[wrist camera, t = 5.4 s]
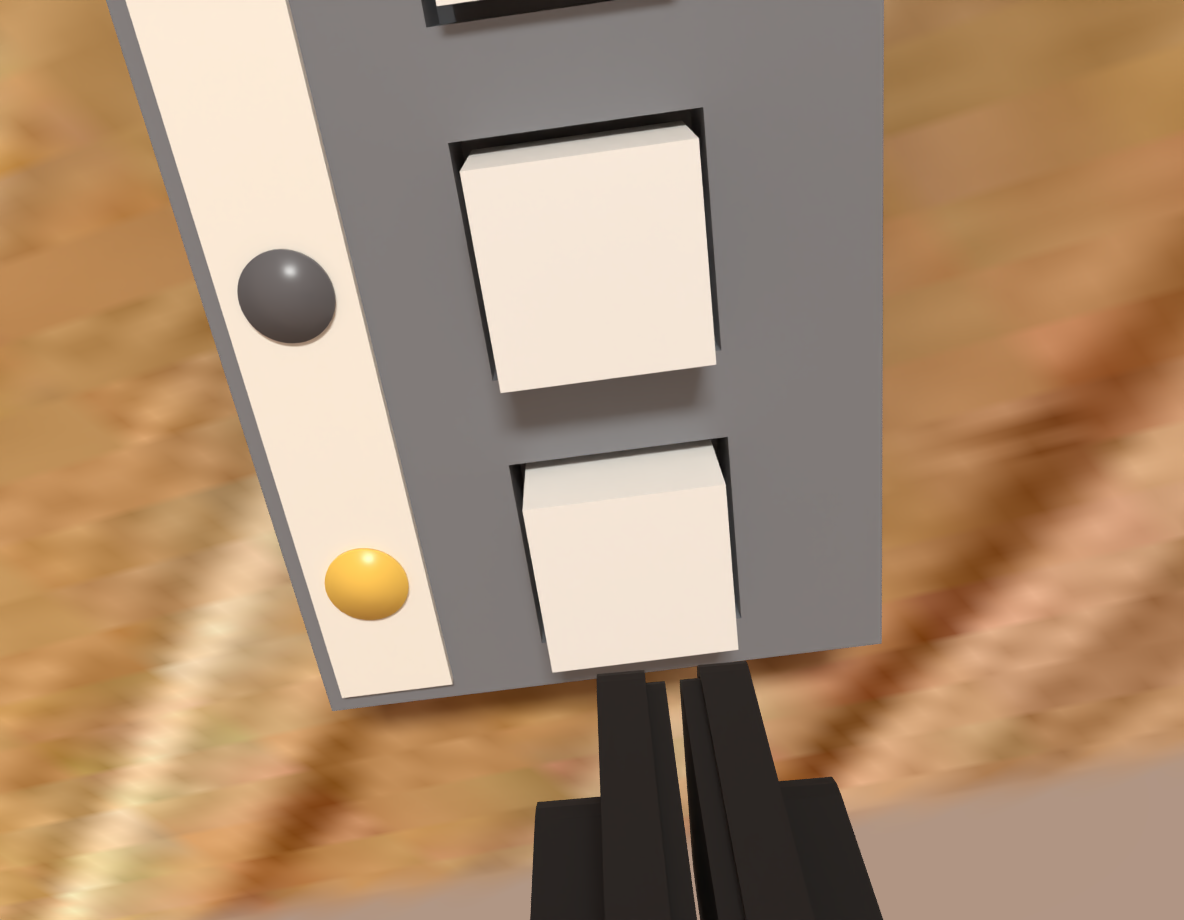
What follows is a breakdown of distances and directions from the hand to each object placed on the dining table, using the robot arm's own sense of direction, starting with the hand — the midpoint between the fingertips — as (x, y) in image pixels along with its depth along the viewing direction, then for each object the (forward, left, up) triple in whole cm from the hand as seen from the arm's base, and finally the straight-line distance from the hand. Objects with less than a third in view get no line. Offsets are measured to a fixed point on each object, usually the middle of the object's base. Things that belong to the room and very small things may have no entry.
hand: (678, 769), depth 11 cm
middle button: (0, -4, -11) cm, 11 cm away
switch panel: (+1, -4, -13) cm, 13 cm away
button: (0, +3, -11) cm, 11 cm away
